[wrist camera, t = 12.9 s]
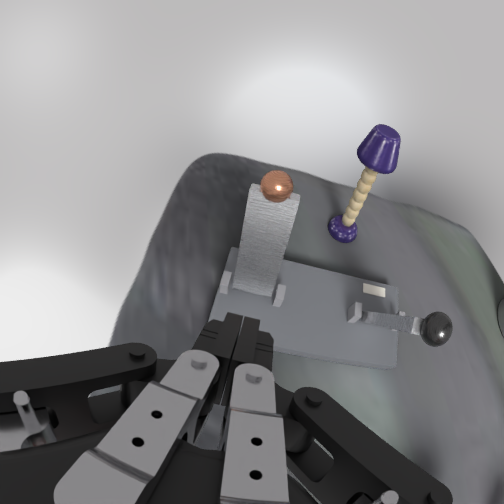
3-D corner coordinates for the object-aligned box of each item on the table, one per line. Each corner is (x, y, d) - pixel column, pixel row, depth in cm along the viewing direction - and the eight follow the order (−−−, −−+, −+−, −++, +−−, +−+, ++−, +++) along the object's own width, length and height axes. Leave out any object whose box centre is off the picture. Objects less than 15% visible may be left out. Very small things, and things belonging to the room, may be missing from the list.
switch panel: (387, 369, 28) (405, 362, 25) (206, 334, 29) (204, 322, 26) (390, 294, 34) (406, 280, 30) (231, 255, 34) (232, 236, 31)
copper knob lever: (269, 305, 28) (305, 184, 20) (230, 295, 29) (251, 171, 20) (272, 287, 31) (305, 171, 22) (235, 278, 31) (257, 160, 22)
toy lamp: (321, 234, 37) (367, 133, 23) (328, 210, 40) (369, 113, 26) (353, 247, 37) (412, 153, 23) (358, 222, 39) (409, 131, 25)
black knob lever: (387, 332, 29) (460, 351, 16) (356, 327, 29) (421, 346, 16) (392, 310, 29) (467, 316, 16) (362, 304, 29) (429, 308, 16)
